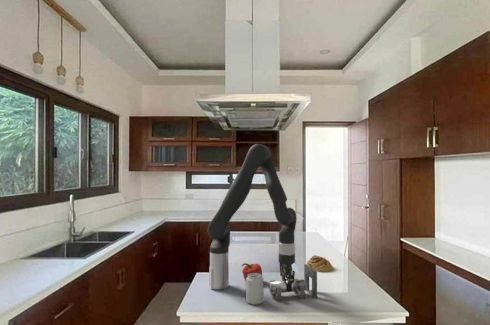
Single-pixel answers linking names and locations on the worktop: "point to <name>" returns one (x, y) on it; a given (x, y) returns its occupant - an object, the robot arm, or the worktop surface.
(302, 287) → the grey u-shaped bracket
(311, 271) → the frame
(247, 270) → the vegetable
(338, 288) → the worktop surface
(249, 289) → the can
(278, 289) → the grey metal blocks
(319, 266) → the pastry
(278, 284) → the tube
